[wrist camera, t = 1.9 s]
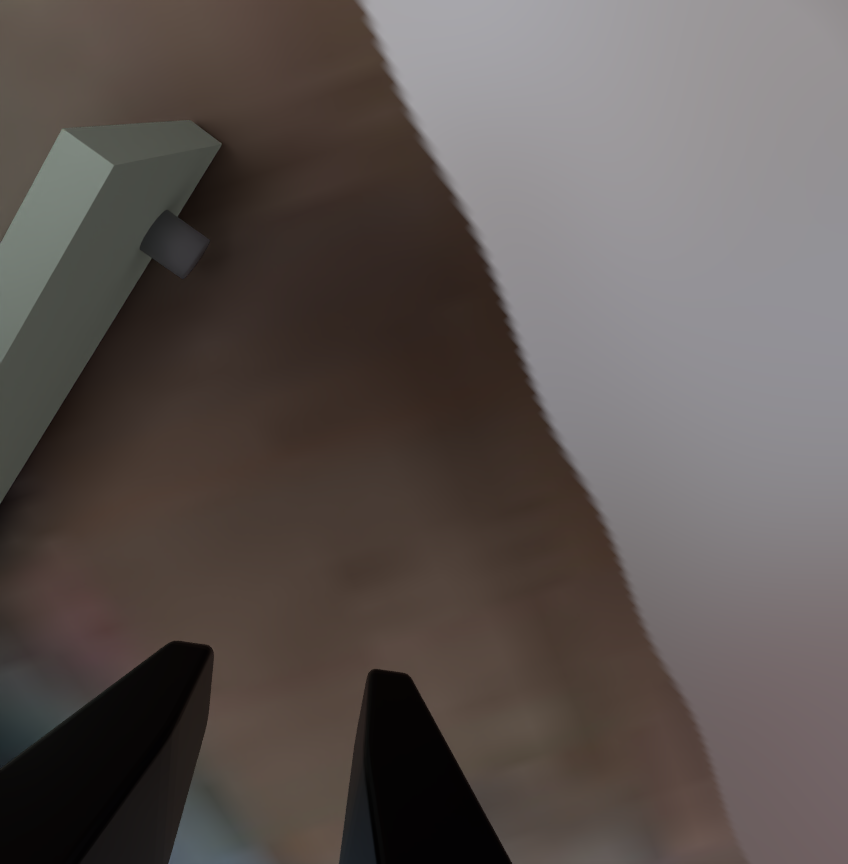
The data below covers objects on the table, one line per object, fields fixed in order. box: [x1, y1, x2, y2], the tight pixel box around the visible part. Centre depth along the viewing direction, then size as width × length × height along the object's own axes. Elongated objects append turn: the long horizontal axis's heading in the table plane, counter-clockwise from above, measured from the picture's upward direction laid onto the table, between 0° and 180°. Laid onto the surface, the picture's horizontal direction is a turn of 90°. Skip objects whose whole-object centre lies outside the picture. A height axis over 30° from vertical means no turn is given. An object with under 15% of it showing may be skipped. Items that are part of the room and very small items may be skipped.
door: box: [0, 120, 222, 504], centre depth 16 cm, size 12×2×7 cm, turn 143°
